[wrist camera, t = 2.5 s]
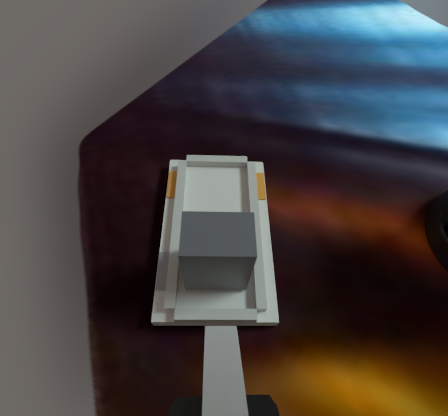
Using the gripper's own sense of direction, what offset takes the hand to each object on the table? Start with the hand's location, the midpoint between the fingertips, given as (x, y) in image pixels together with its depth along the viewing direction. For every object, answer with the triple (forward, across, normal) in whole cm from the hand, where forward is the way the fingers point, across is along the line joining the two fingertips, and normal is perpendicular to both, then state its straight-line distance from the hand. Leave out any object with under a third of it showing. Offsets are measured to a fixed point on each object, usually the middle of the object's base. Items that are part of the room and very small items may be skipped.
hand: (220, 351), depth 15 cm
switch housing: (+21, 0, -1) cm, 21 cm away
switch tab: (+16, 0, -3) cm, 16 cm away
